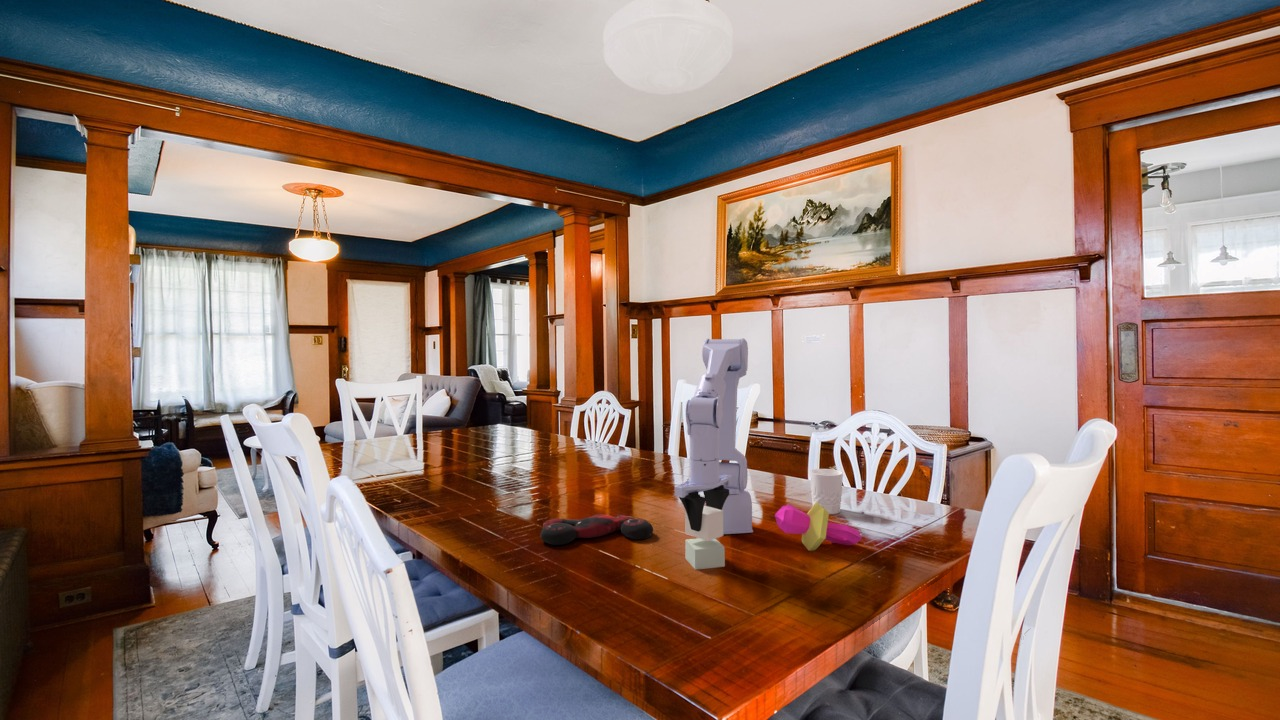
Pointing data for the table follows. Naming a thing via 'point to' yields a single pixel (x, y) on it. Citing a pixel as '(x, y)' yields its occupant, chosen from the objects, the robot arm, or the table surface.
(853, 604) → the table surface
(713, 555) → the sage base brick
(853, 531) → the toy
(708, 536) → the cream brick
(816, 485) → the white cup
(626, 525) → the toy motorcycle
